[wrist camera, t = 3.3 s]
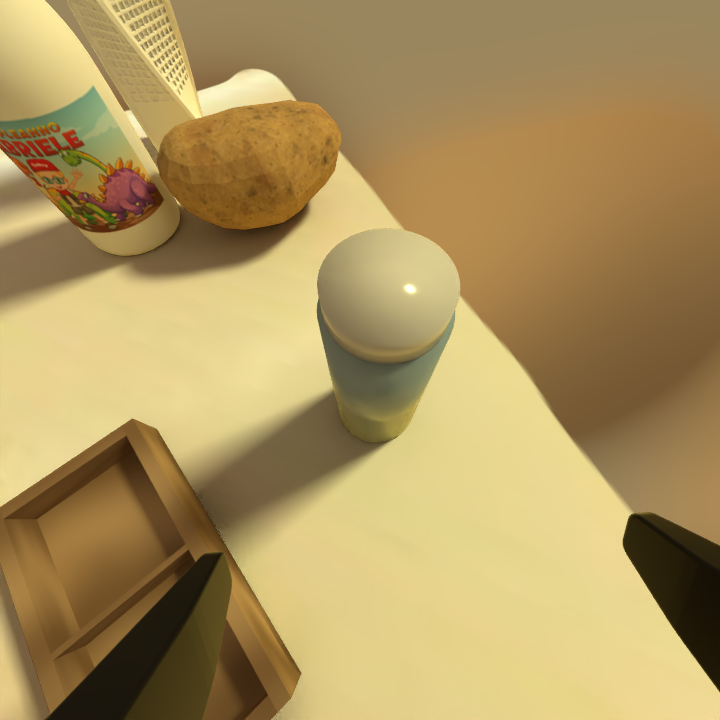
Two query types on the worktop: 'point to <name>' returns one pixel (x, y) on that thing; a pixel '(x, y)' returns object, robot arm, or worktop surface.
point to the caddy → (127, 572)
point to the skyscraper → (142, 59)
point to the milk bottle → (77, 135)
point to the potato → (250, 162)
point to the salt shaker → (384, 325)
